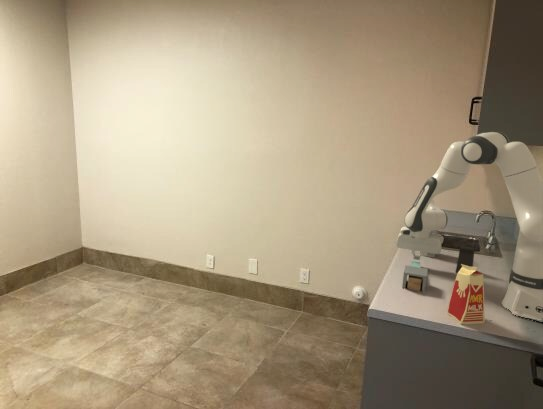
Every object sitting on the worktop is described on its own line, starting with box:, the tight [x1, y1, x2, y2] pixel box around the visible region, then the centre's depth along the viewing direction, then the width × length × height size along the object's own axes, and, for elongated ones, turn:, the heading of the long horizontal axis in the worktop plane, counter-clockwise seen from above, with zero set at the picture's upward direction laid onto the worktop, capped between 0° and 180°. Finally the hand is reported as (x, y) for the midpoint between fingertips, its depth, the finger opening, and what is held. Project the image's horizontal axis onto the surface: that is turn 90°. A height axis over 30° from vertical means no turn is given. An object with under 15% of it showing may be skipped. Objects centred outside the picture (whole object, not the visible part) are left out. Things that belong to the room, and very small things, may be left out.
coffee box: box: [421, 230, 439, 258], centre depth 205 cm, size 9×6×16 cm
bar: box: [409, 261, 423, 283], centre depth 176 cm, size 18×4×4 cm, turn 163°
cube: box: [406, 275, 423, 291], centre depth 164 cm, size 5×5×5 cm
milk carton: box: [446, 264, 486, 325], centre depth 138 cm, size 9×9×20 cm
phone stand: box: [455, 244, 476, 274], centre depth 183 cm, size 9×6×12 cm, turn 146°
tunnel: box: [401, 264, 428, 293], centre depth 165 cm, size 9×9×7 cm
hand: (416, 259), depth 188 cm, fingers closed
